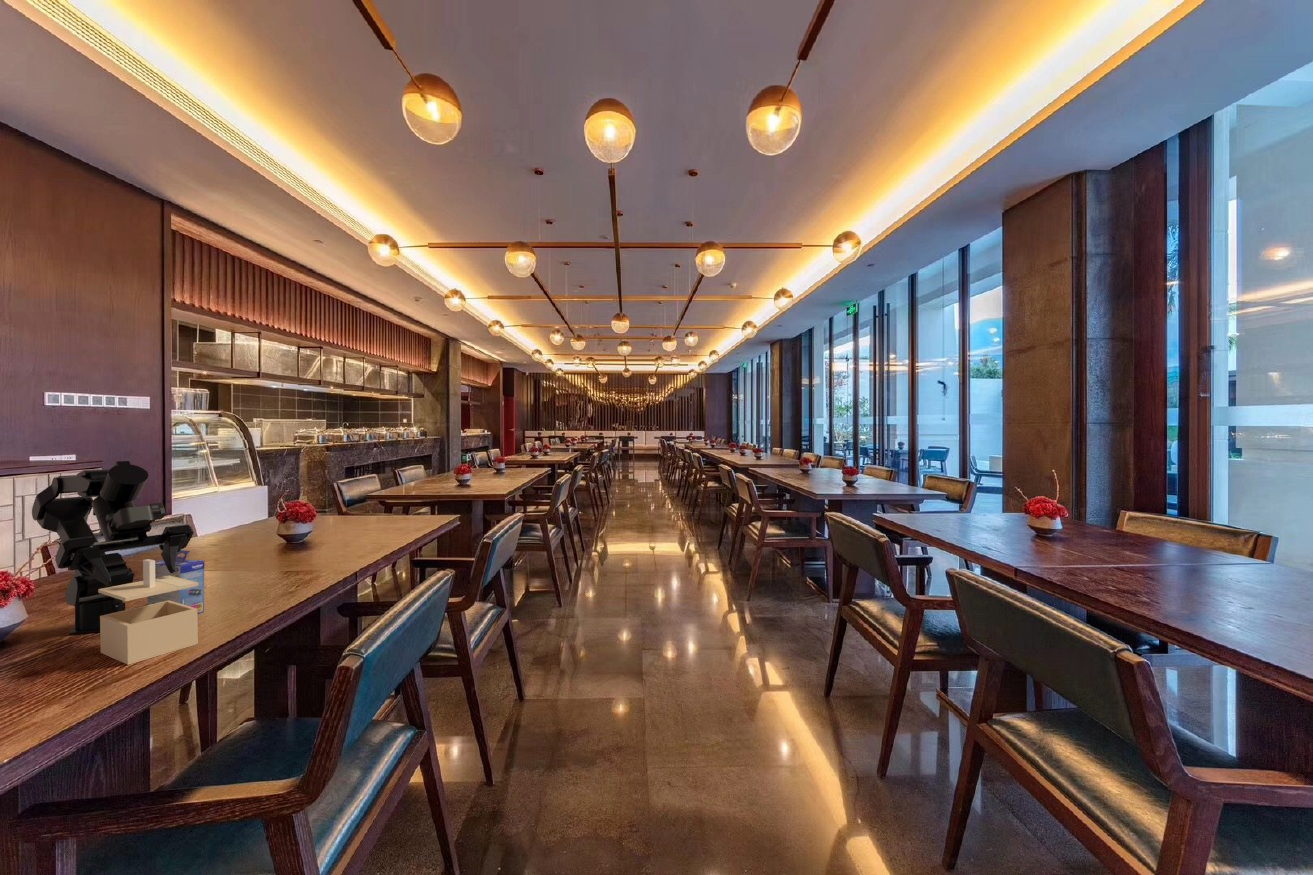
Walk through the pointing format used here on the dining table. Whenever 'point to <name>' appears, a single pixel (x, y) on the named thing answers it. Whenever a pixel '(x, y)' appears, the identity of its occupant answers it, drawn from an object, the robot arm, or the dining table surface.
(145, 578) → the carton lid
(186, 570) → the ink cartridge box
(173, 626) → the carton
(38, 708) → the dining table surface
